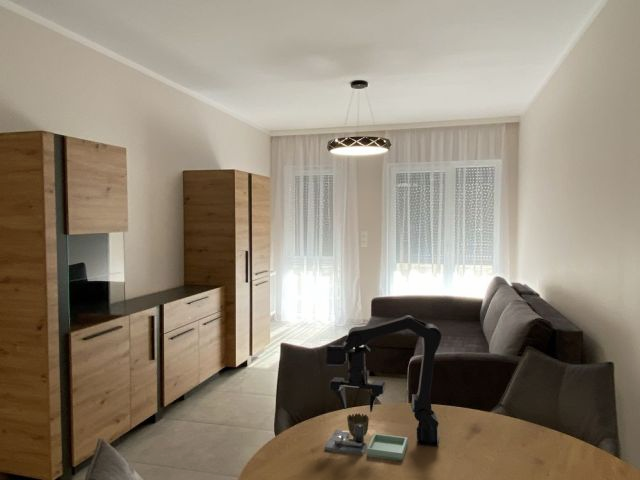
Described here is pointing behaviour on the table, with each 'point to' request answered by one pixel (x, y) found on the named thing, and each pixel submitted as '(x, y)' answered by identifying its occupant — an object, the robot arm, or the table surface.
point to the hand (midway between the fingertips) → (358, 410)
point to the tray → (387, 447)
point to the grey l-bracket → (344, 445)
